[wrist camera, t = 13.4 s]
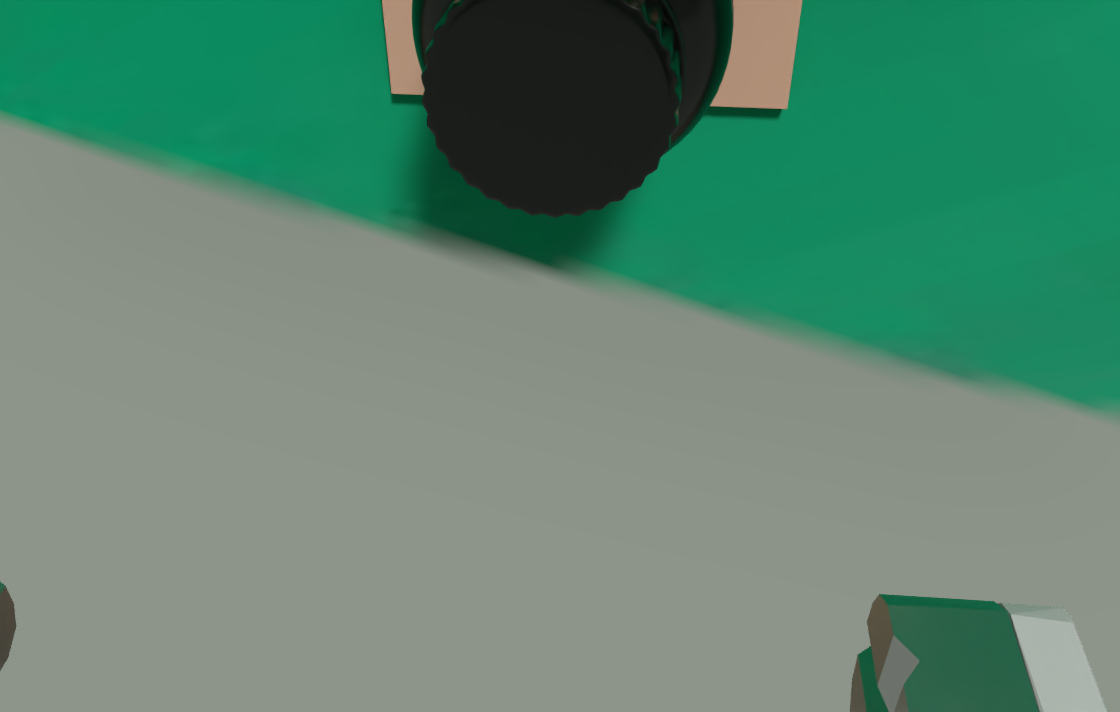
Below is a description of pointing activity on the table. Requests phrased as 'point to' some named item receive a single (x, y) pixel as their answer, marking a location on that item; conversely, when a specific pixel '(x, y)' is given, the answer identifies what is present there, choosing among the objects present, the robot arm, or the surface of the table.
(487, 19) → the supplement bottle
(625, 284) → the table surface
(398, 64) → the terracotta tile
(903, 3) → the table surface
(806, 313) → the table surface
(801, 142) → the table surface
